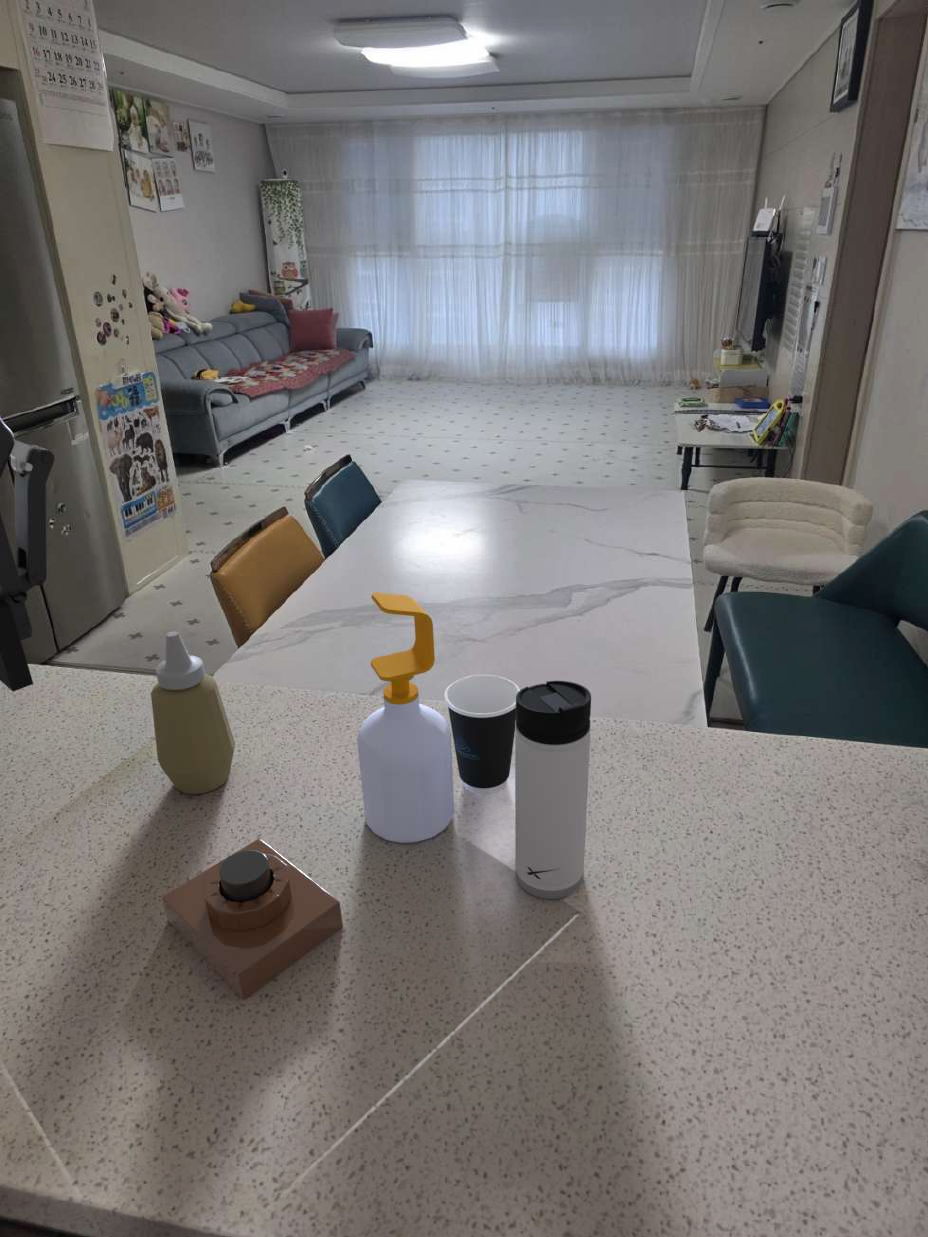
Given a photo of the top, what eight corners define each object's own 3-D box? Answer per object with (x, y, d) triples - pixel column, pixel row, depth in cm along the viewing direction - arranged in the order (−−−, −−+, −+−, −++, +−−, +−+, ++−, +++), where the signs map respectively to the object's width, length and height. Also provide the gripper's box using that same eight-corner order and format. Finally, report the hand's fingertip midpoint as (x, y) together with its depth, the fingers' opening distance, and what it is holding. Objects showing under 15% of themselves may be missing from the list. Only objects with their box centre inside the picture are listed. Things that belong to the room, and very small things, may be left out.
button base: (167, 922, 72) (156, 879, 70) (263, 862, 79) (256, 820, 76) (244, 1001, 65) (234, 955, 62) (343, 927, 71) (338, 883, 69)
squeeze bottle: (183, 813, 85) (149, 661, 77) (152, 778, 91) (117, 633, 83) (253, 779, 90) (228, 634, 82) (219, 748, 96) (193, 609, 88)
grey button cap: (213, 886, 70) (209, 868, 69) (254, 861, 72) (250, 843, 71) (240, 910, 67) (236, 891, 66) (280, 883, 70) (277, 865, 69)
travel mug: (537, 912, 72) (539, 720, 63) (503, 864, 77) (502, 680, 69) (598, 890, 74) (609, 700, 65) (561, 844, 80) (567, 664, 71)
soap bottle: (354, 801, 86) (330, 588, 75) (435, 778, 89) (423, 570, 79) (380, 856, 79) (359, 627, 68) (468, 829, 82) (460, 606, 71)
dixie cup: (525, 762, 92) (526, 677, 87) (516, 808, 85) (516, 717, 80) (455, 756, 93) (452, 671, 88) (440, 800, 86) (436, 711, 81)
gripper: (-197, 378, 45) (-63, 738, 55) (45, 348, 53) (122, 665, 64) (-225, 365, 50) (-97, 699, 60) (1, 339, 58) (80, 636, 68)
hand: (16, 681), depth 62 cm, fingers closed
